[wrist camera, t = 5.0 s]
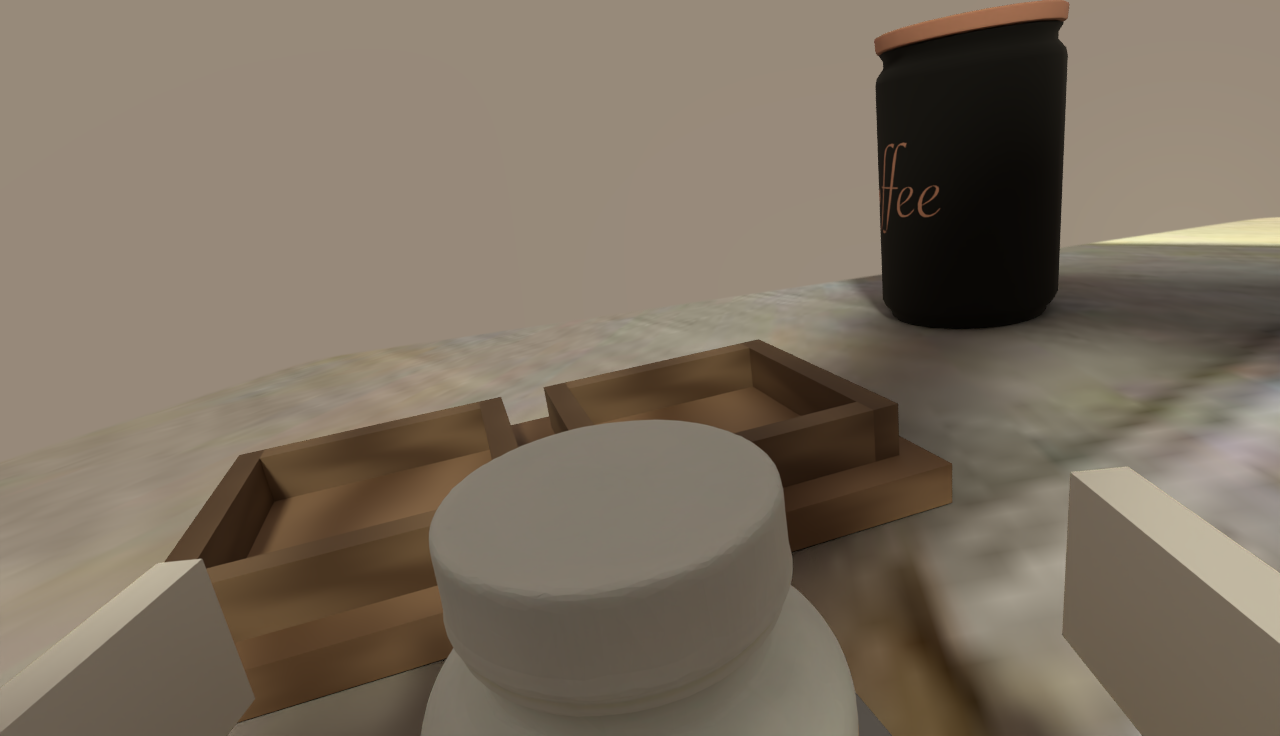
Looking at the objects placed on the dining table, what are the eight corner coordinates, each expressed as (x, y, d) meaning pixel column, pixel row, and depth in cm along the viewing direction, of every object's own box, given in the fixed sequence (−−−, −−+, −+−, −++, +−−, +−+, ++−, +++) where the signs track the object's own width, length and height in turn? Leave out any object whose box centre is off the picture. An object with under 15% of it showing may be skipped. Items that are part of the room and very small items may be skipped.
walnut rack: (768, 392, 37) (763, 329, 36) (952, 502, 24) (951, 410, 23) (247, 519, 31) (223, 448, 30) (117, 759, 18) (65, 649, 17)
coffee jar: (875, 299, 53) (865, 48, 48) (1027, 286, 51) (1035, 19, 45) (893, 337, 43) (884, 26, 38) (1083, 323, 41) (1102, -13, 35)
